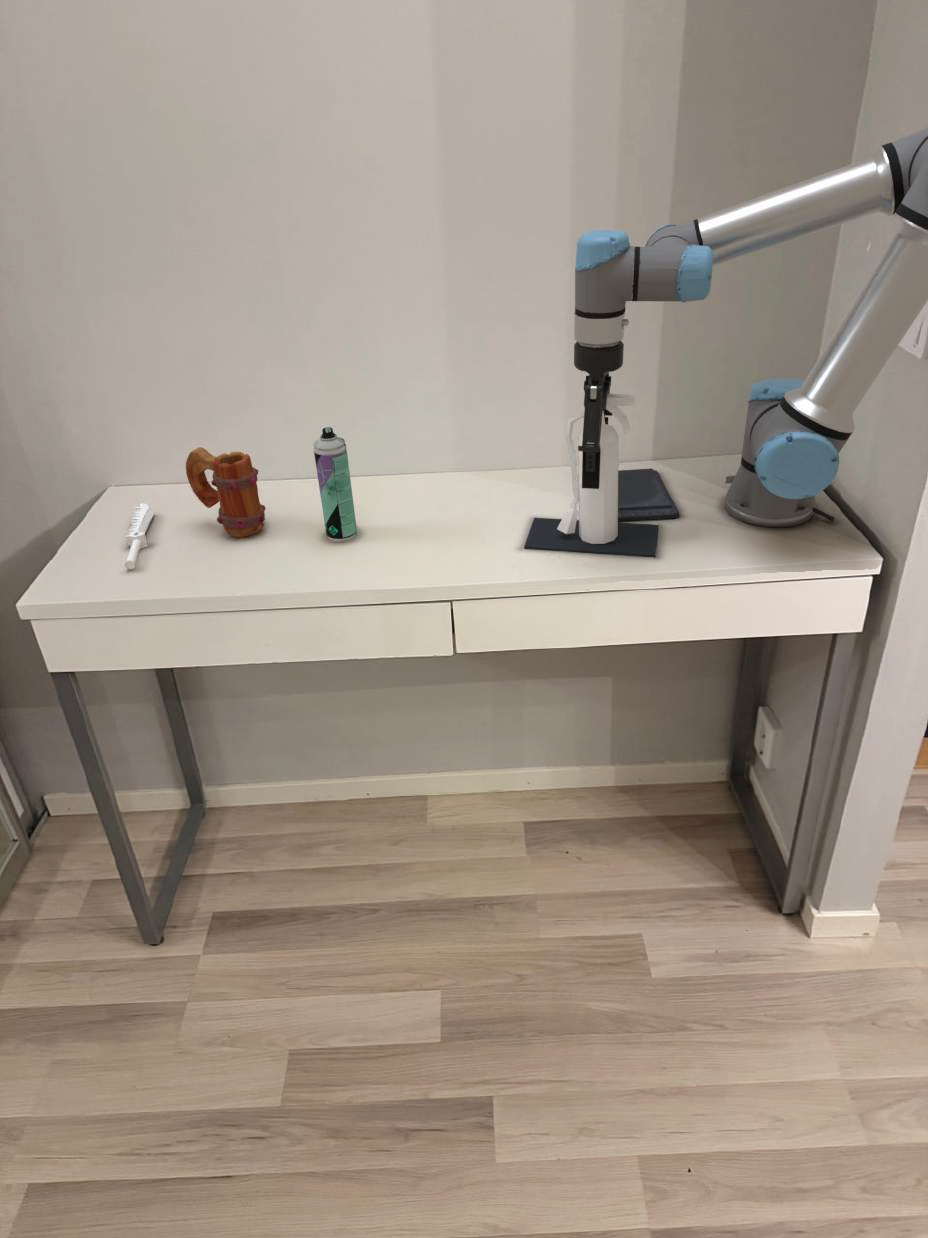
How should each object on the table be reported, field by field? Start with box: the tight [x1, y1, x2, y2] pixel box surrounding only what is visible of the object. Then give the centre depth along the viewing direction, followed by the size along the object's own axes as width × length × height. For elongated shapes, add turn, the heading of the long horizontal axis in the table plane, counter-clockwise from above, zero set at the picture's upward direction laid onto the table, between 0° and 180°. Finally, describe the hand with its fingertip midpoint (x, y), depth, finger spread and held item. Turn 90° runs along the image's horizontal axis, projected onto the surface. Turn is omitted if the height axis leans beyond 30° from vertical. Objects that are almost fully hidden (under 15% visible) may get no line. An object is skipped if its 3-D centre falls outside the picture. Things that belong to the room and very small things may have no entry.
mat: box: [523, 517, 660, 558], centre depth 156 cm, size 22×11×1 cm, turn 77°
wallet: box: [618, 468, 681, 522], centre depth 168 cm, size 20×2×15 cm
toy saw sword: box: [124, 503, 155, 570], centre depth 162 cm, size 3×4×22 cm
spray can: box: [313, 426, 358, 543], centre depth 155 cm, size 6×6×20 cm
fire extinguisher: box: [557, 393, 636, 544], centre depth 149 cm, size 7×12×25 cm, turn 84°
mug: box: [185, 446, 266, 538], centre depth 161 cm, size 15×8×15 cm, turn 65°
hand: (594, 470), depth 149 cm, fingers open, 13 cm apart
